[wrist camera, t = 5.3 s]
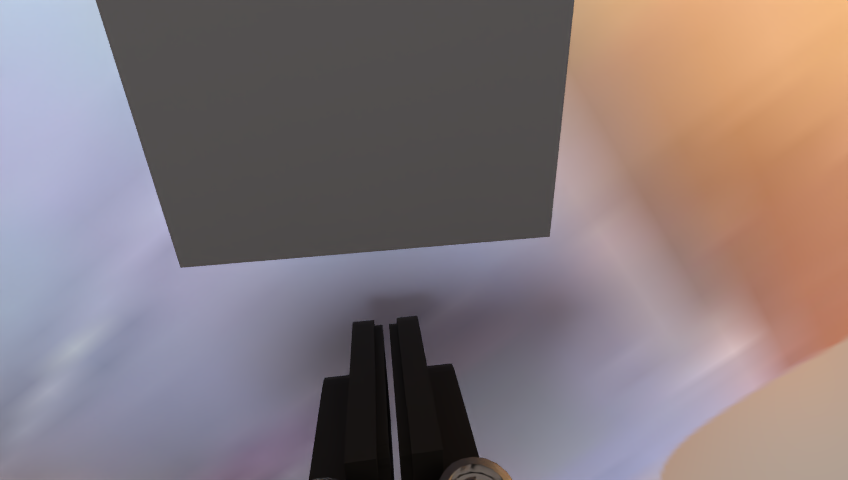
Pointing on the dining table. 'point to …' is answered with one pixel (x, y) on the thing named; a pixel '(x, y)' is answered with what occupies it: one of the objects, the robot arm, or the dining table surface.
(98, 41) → the dining table surface
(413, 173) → the rod
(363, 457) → the robot arm
